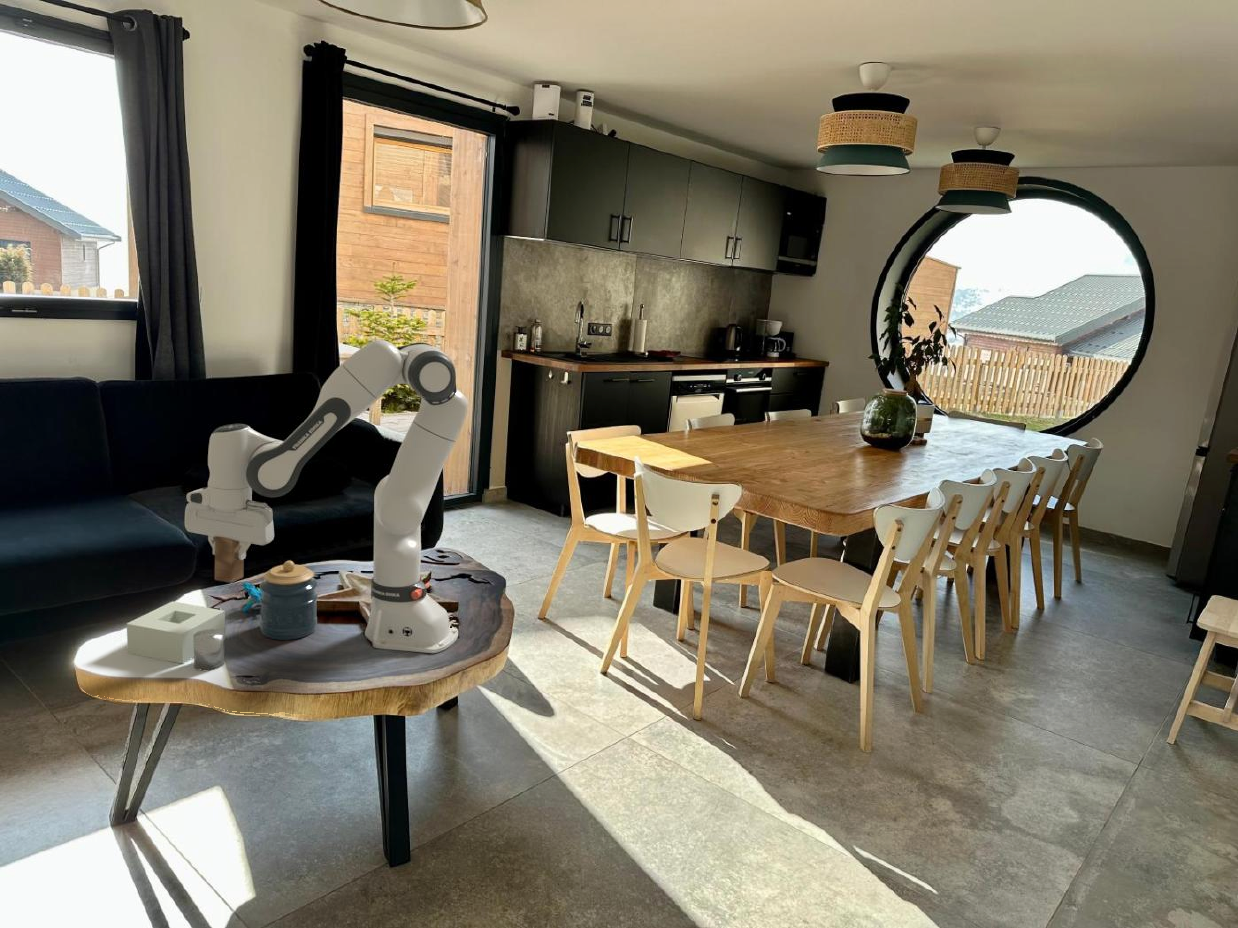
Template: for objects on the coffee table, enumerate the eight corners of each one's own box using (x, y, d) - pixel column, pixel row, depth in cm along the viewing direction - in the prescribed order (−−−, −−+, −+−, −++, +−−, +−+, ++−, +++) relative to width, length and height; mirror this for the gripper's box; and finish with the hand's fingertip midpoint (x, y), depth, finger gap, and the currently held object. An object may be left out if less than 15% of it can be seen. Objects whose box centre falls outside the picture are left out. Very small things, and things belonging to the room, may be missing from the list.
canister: (303, 614, 214) (303, 548, 210) (326, 632, 205) (327, 564, 201) (251, 626, 205) (250, 557, 201) (273, 645, 196) (272, 574, 192)
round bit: (230, 660, 187) (229, 631, 186) (212, 672, 181) (211, 642, 180) (206, 656, 188) (206, 627, 187) (187, 667, 182) (187, 637, 181)
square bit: (243, 577, 191) (244, 535, 189) (231, 582, 187) (231, 540, 185) (226, 573, 192) (227, 532, 189) (214, 579, 188) (215, 536, 185)
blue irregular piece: (277, 610, 211) (245, 584, 207) (258, 628, 210) (227, 602, 206) (276, 600, 221) (247, 575, 218) (259, 616, 220) (229, 592, 216)
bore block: (225, 638, 197) (224, 610, 196) (183, 663, 184) (182, 634, 182) (173, 628, 200) (172, 601, 198) (127, 652, 186) (126, 623, 185)
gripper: (280, 501, 186) (279, 560, 189) (199, 487, 190) (199, 545, 193) (263, 507, 180) (262, 568, 183) (179, 493, 184) (179, 553, 187)
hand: (229, 556), depth 188 cm, fingers closed on square bit, 4 cm apart
